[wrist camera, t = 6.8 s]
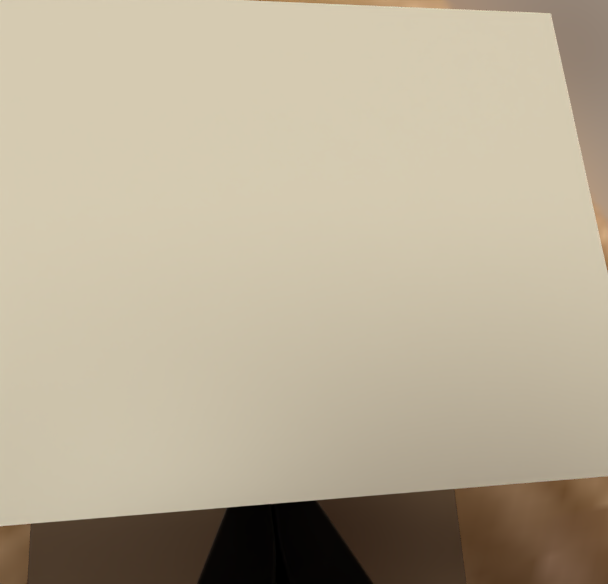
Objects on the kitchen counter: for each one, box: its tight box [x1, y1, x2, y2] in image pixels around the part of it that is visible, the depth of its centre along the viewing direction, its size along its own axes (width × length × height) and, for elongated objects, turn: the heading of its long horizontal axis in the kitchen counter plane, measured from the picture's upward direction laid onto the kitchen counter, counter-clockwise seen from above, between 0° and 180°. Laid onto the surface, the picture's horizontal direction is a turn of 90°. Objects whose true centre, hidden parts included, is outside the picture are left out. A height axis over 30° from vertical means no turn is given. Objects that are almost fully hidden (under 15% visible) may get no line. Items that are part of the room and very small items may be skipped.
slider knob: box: [0, 0, 608, 526], centre depth 9 cm, size 4×5×10 cm
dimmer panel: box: [27, 489, 466, 584], centre depth 13 cm, size 20×10×4 cm, turn 4°
